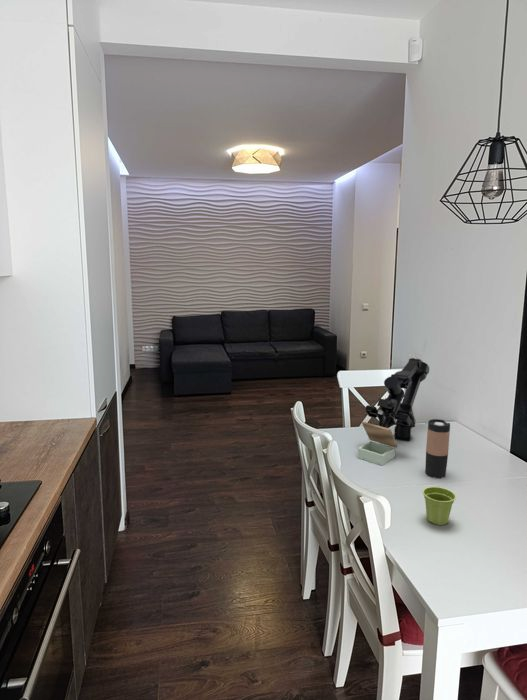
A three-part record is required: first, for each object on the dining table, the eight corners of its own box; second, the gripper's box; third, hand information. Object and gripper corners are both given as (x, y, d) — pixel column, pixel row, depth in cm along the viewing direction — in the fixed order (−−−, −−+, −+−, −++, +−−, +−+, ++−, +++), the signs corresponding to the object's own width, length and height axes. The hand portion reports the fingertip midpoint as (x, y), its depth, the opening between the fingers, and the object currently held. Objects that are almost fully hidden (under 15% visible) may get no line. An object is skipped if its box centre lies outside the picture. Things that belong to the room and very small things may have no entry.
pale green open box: (370, 450, 196) (370, 441, 195) (394, 457, 188) (395, 448, 188) (357, 457, 188) (357, 448, 188) (382, 465, 181) (382, 455, 180)
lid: (369, 440, 195) (370, 438, 196) (396, 447, 188) (397, 446, 188) (361, 423, 189) (362, 421, 189) (389, 430, 181) (390, 428, 181)
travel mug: (423, 476, 172) (427, 424, 168) (425, 468, 179) (428, 418, 175) (446, 480, 169) (450, 427, 165) (446, 471, 176) (450, 420, 172)
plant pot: (417, 511, 148) (418, 486, 146) (447, 512, 148) (449, 486, 146) (426, 528, 139) (428, 501, 137) (458, 528, 139) (460, 501, 137)
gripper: (367, 386, 195) (352, 418, 189) (410, 394, 183) (395, 429, 177) (376, 400, 202) (362, 431, 196) (417, 409, 190) (404, 443, 184)
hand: (380, 433), depth 188 cm, fingers closed, pressing on lid
